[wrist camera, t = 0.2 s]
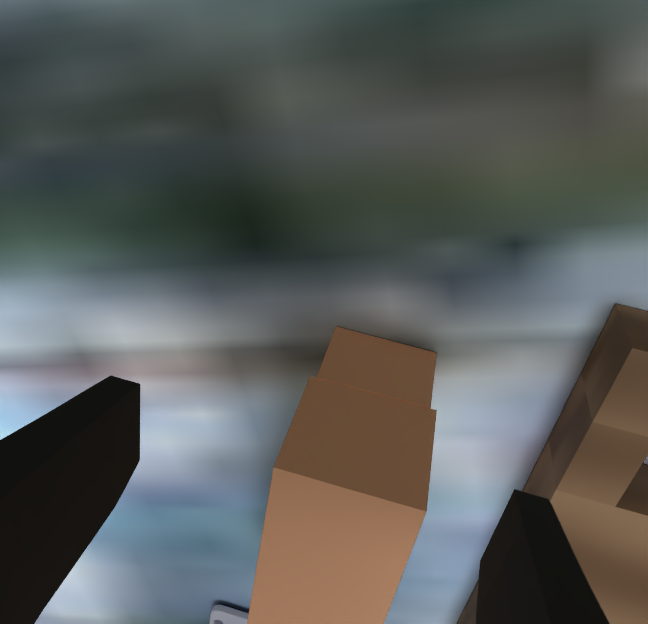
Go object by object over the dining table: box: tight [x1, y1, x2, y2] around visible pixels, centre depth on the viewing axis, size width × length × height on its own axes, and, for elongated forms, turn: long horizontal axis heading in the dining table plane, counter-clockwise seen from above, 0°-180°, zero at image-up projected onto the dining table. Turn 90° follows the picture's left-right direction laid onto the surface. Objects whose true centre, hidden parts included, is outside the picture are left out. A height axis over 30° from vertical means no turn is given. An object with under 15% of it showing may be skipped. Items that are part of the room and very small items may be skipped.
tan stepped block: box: [247, 326, 437, 624], centre depth 22 cm, size 12×4×7 cm, turn 171°
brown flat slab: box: [457, 304, 648, 624], centre depth 22 cm, size 19×9×2 cm, turn 171°
